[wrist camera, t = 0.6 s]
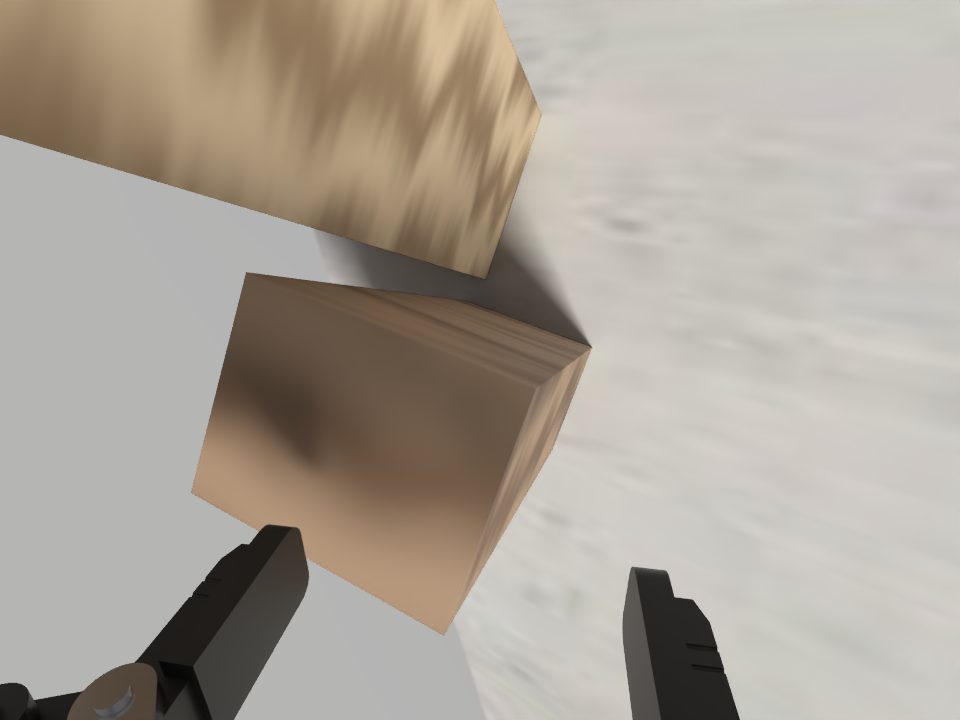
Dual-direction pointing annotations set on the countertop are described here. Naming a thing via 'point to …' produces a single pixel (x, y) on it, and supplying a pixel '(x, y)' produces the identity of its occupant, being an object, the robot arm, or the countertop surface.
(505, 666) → the countertop surface
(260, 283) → the walnut block
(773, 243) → the countertop surface
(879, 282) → the countertop surface
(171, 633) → the robot arm
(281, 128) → the oak block
